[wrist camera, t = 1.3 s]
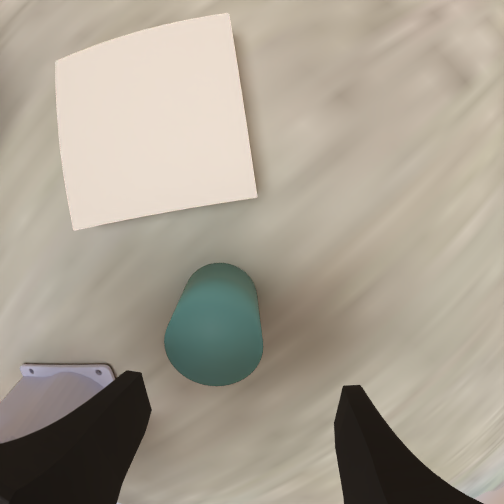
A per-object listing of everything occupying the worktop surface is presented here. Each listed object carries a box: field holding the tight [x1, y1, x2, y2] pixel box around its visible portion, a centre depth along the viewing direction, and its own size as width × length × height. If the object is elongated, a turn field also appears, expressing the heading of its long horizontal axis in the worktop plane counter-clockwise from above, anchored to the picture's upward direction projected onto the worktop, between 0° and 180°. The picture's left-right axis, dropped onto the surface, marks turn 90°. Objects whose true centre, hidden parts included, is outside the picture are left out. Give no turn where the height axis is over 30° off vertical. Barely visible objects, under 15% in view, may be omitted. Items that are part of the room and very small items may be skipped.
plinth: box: [55, 13, 257, 231], centre depth 16 cm, size 10×10×3 cm
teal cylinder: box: [164, 263, 263, 386], centre depth 17 cm, size 4×4×6 cm
